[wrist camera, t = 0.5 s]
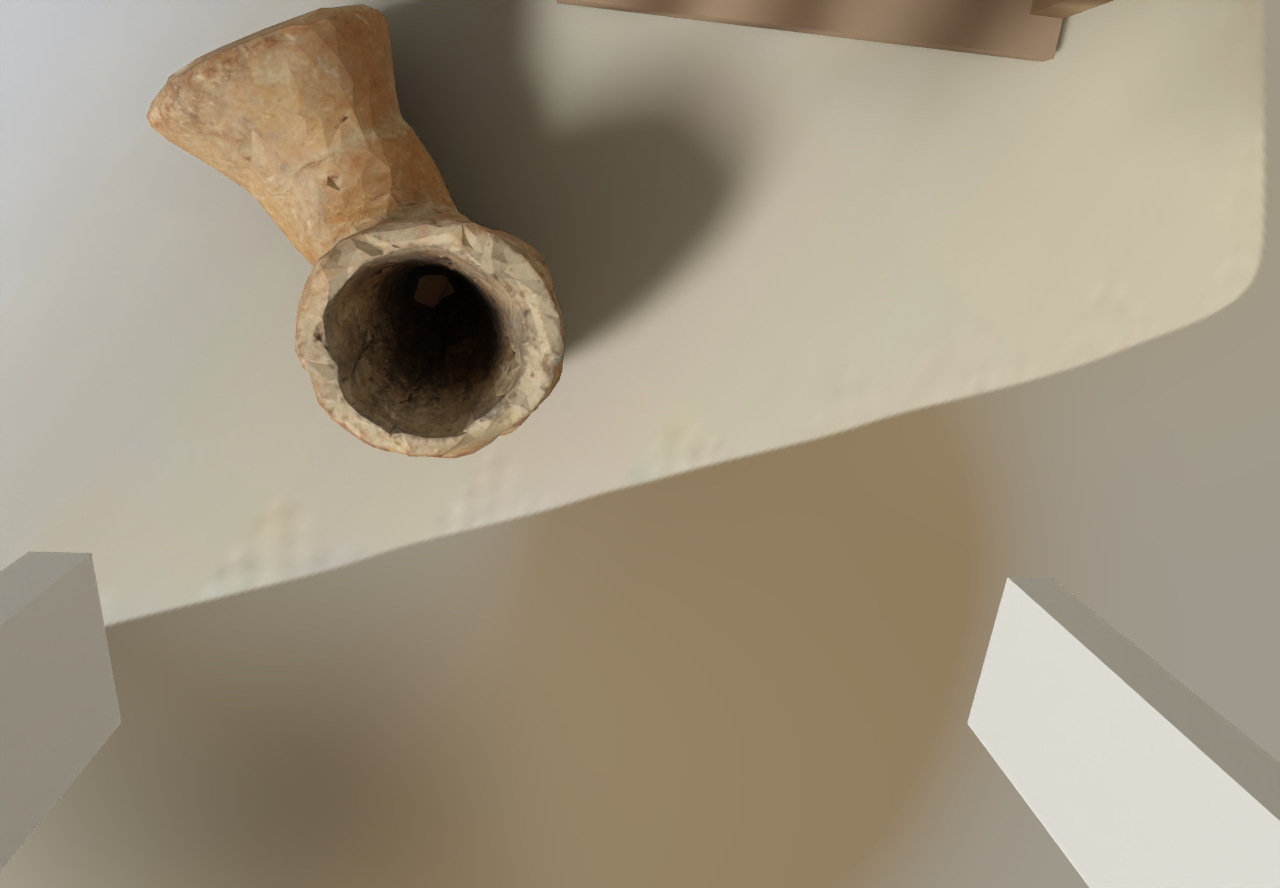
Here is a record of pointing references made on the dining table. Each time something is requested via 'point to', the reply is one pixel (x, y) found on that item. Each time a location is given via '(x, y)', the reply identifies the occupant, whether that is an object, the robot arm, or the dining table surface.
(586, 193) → the dining table surface
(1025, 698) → the robot arm
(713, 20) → the cradle
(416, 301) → the pipe
